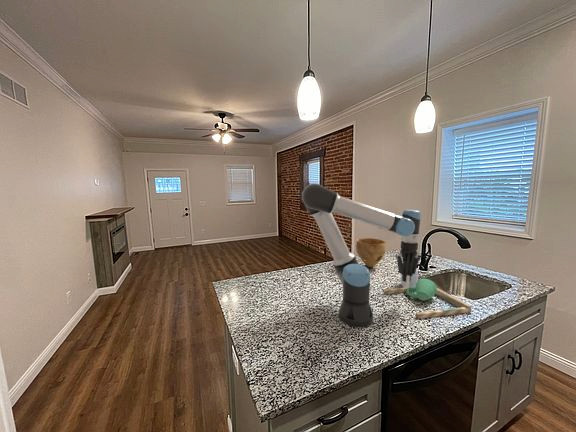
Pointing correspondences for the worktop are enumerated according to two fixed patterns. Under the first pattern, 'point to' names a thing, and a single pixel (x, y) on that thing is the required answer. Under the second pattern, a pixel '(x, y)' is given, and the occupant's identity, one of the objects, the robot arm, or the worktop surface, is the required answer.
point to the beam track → (447, 311)
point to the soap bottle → (412, 279)
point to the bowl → (370, 250)
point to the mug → (423, 289)
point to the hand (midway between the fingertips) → (405, 287)
